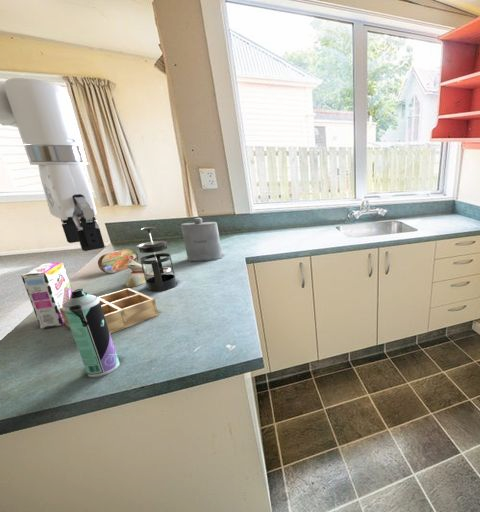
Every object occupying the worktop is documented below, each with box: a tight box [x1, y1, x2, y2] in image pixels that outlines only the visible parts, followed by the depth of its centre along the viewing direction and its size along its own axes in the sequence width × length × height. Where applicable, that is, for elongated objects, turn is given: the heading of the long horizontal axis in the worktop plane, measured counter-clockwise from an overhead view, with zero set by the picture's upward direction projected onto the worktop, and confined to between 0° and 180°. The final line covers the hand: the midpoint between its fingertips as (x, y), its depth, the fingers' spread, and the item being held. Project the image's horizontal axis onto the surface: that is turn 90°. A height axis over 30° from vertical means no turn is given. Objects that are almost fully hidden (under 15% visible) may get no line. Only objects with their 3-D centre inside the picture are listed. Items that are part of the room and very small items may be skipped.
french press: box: [136, 226, 178, 293], centre depth 108 cm, size 12×9×23 cm
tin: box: [97, 248, 139, 274], centre depth 128 cm, size 15×3×8 cm, turn 168°
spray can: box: [63, 288, 120, 378], centre depth 65 cm, size 6×6×20 cm
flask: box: [180, 217, 223, 262], centre depth 141 cm, size 15×6×20 cm, turn 107°
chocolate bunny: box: [125, 260, 147, 289], centre depth 113 cm, size 6×8×10 cm
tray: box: [60, 287, 159, 335], centre depth 88 cm, size 16×16×6 cm
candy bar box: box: [20, 261, 73, 330], centre depth 87 cm, size 11×5×16 cm, turn 27°
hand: (86, 245), depth 60 cm, fingers open, 9 cm apart
